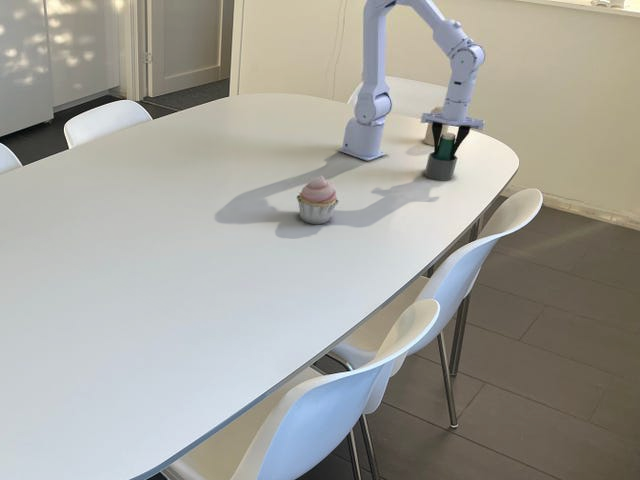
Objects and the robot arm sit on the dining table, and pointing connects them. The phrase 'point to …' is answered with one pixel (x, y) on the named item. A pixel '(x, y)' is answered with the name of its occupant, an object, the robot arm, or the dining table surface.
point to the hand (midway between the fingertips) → (443, 154)
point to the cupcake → (317, 201)
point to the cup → (440, 168)
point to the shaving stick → (445, 146)
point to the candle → (429, 134)
